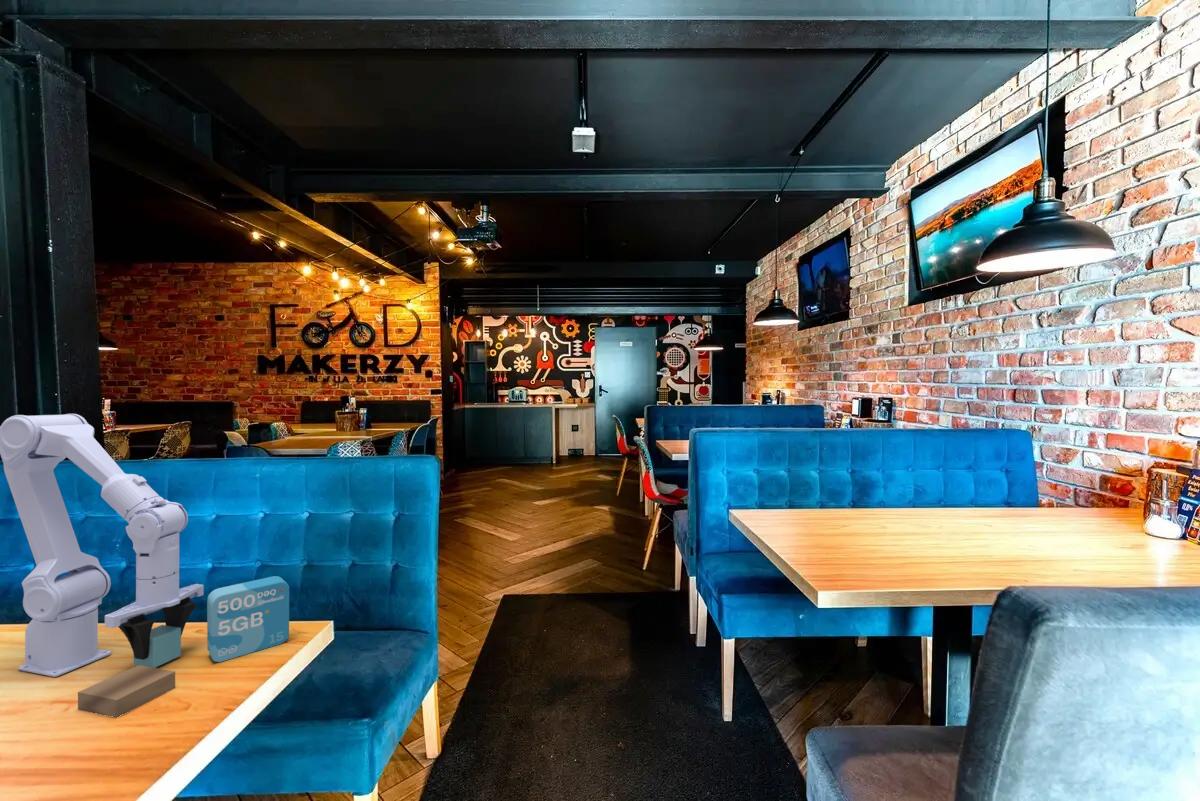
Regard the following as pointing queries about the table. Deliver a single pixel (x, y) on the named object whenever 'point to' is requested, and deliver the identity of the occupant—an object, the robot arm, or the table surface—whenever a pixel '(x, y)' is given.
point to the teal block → (162, 646)
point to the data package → (247, 618)
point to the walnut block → (126, 691)
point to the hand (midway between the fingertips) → (157, 650)
